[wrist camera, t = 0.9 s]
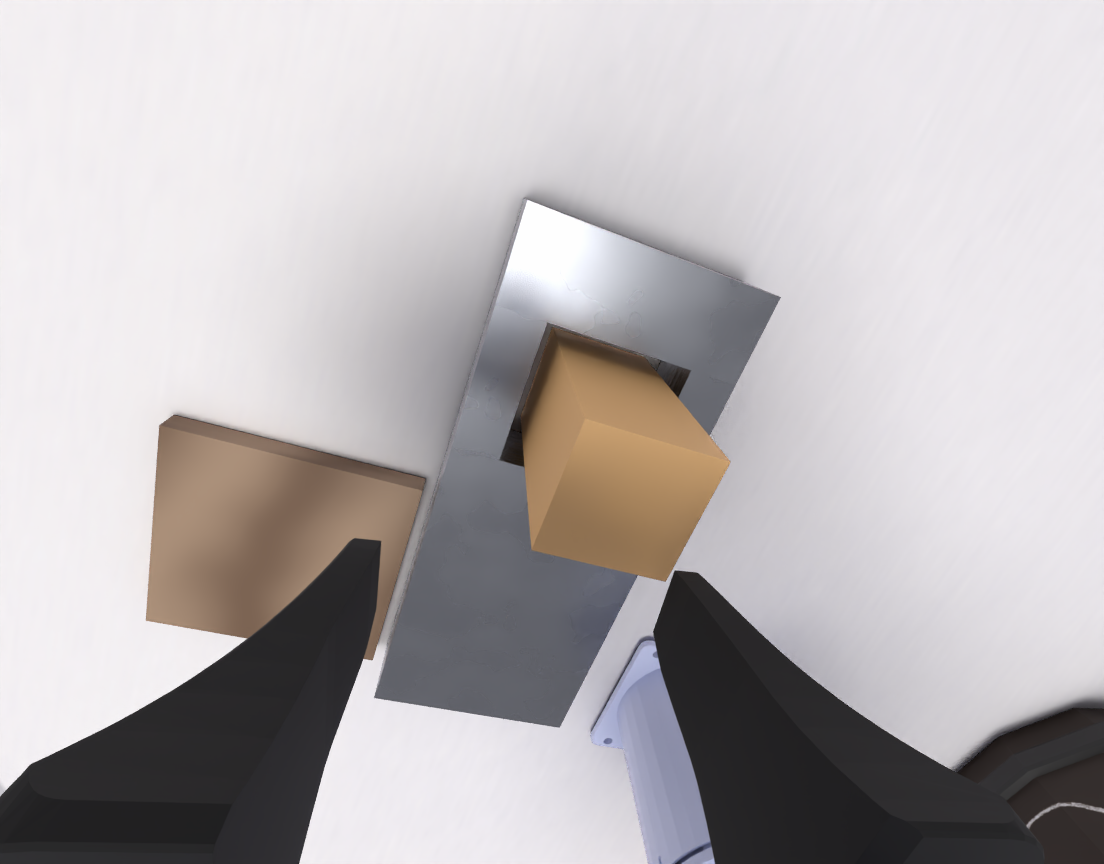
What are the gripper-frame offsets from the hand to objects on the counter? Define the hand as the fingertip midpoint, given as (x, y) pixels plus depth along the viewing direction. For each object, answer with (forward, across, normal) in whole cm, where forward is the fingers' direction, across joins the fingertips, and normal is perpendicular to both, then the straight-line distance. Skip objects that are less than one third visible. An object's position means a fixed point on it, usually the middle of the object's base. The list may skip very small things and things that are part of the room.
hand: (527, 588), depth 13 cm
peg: (+10, -2, -2) cm, 11 cm away
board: (+10, +9, +8) cm, 16 cm away
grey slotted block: (+10, -2, +3) cm, 11 cm away
